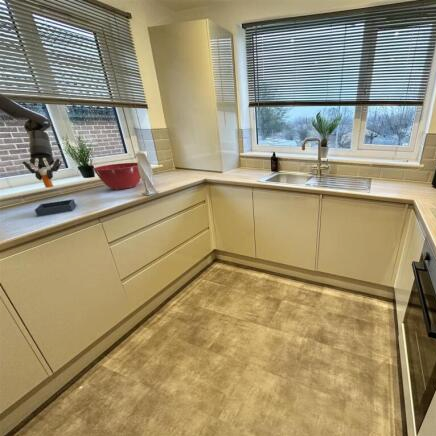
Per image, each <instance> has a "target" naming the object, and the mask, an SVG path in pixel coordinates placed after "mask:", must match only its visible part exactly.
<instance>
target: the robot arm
mask: <svg viewBox="0 0 436 436" xmlns="http://www.w3.org/2000/svg"><path fill="white" fill-rule="evenodd" d="M0 112H1V113H3V114H5V115H6V116H8V117H10V118H12V119H14V120H20V119H27V120H25V121H24V123H23V129H24V130H25V132H26V133H27V135H28V139H29V145H28V146H29V155H30V159H29V160H28V161H22V164H23V165H24V167H25V168H26V169H27V170H28V171H29V172H30V173H31V174H34V175H35V178H36V179H37V180H38V181H43V180H42V178H41V175H40V173H39V171H38V170H39V169H47V176H48V178H49V179H51V180H52V179H53V178H54V173H55V172H59V169H60V167H61V165H62V161H61V159H59V158H57V159H55V158H54V156H53V150H52V149H53V148H52V145H51V141H50V136H49V134H48V133H47V132H46V131H47V130H48V129H50V128H51V127H52V122H51V120H49V118H48V117H46V116H45V115H43V114H41V113H39V112H36V111H35V110H34V111H33V110H32V109H29V108H27V107H24V106H23V105H20V103H17V102H16V101H14V100H13V99H11V98H9V96H8V97H7V95H5V94H2V93H0ZM32 165H33V166H34V168H32Z"/></svg>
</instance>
